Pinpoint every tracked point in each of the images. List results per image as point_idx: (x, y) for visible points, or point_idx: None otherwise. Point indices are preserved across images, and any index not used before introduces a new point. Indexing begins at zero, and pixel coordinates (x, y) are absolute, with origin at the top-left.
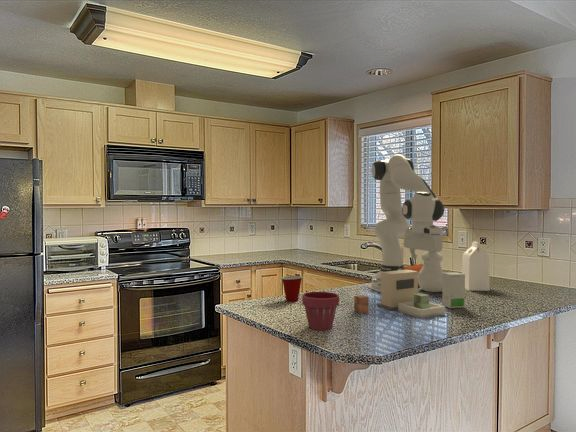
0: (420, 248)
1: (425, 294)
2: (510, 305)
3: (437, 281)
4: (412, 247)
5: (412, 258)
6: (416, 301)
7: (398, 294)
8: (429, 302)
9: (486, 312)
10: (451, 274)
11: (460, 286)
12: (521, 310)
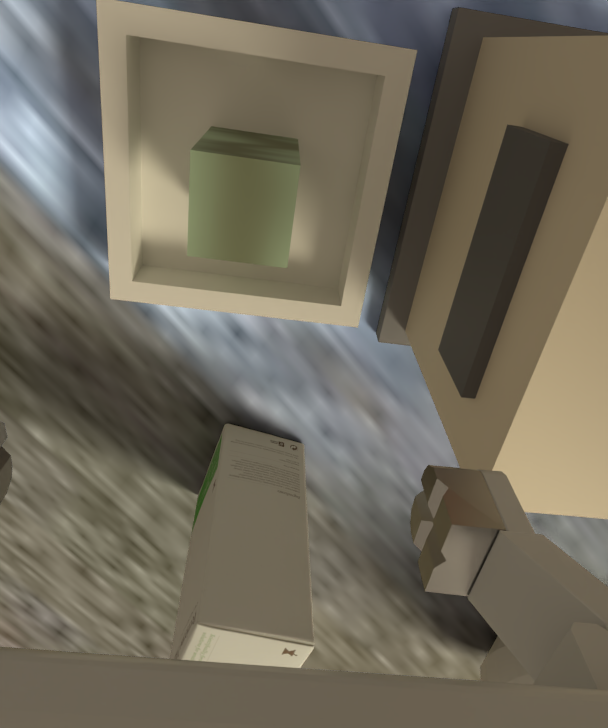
0: (62, 699)
1: (227, 255)
2: (112, 651)
3: (517, 683)
4: (554, 720)
5: (476, 470)
6: (263, 147)
7: (491, 149)
8: (268, 311)
9: (52, 491)
10: (197, 632)
11: (184, 585)
12: (14, 619)
